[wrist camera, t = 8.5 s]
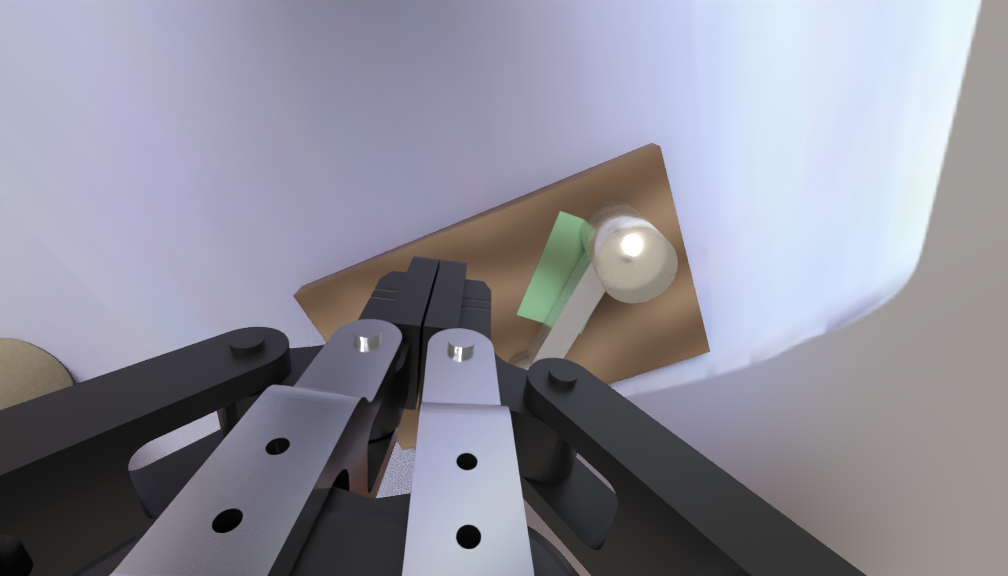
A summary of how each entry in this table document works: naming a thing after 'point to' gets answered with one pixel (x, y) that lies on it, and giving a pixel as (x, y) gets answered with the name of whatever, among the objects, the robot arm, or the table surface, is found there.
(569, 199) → the board
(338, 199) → the table surface
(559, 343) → the lever
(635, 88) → the table surface
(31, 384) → the plant pot
